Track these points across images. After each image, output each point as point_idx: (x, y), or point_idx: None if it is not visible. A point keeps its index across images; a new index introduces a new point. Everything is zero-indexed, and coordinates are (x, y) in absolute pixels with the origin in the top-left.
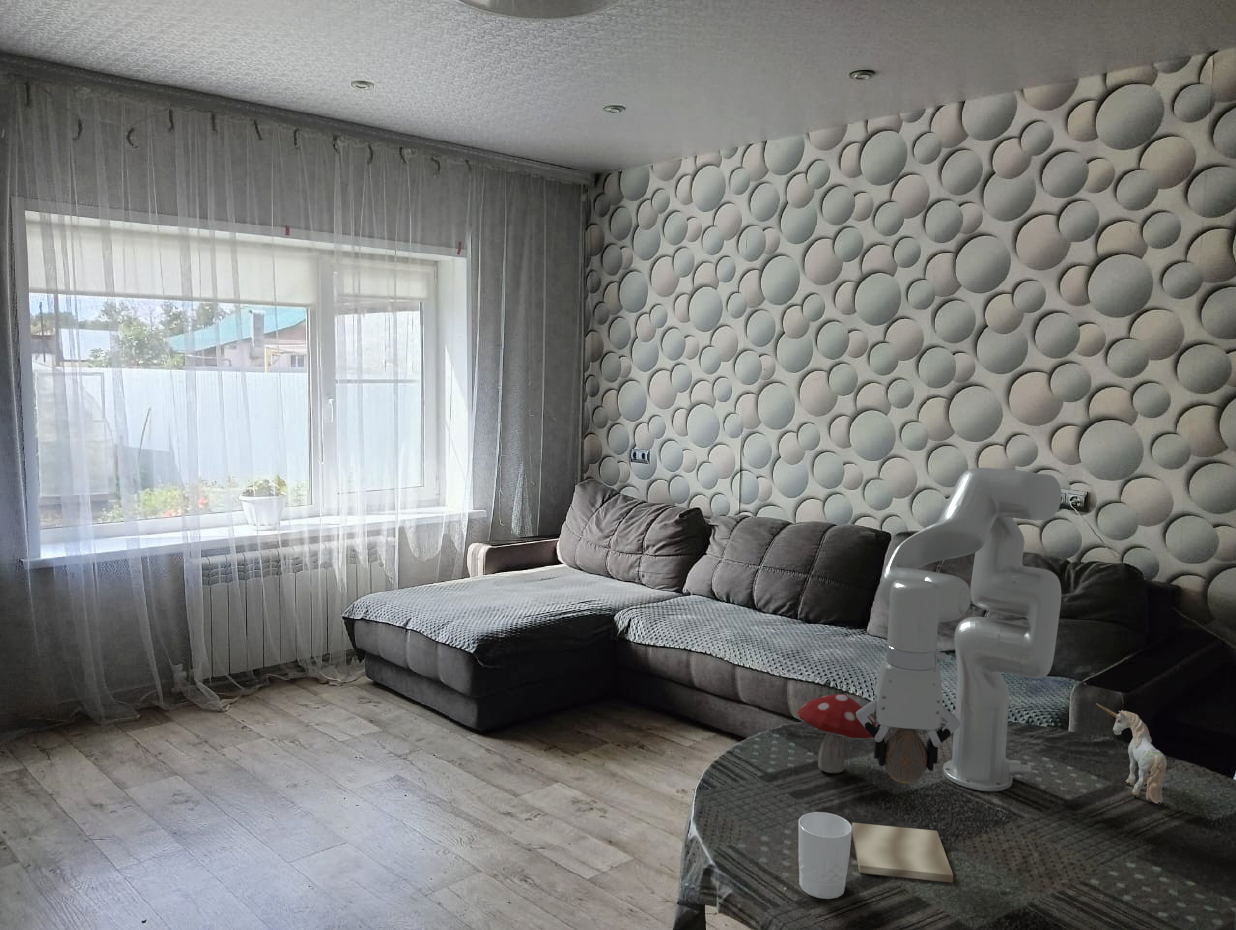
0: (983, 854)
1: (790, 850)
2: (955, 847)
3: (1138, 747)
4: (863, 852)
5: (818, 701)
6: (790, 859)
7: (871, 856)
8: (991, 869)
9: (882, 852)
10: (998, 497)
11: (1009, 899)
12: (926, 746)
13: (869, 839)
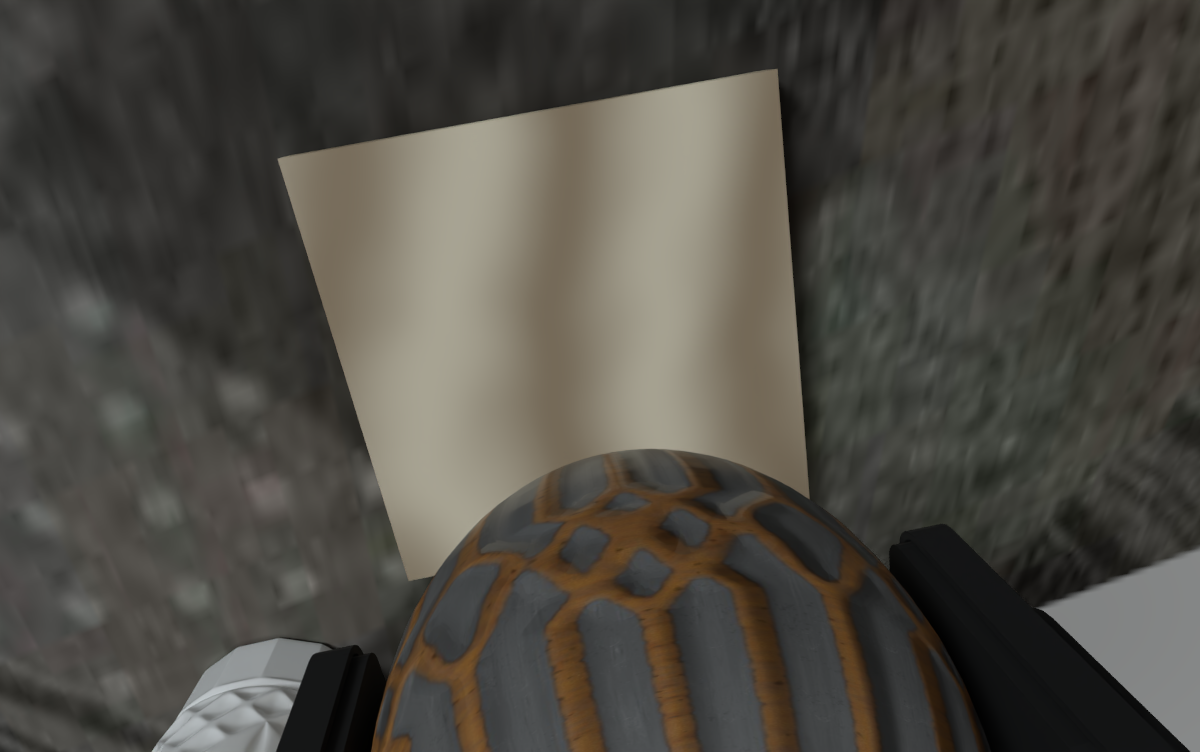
0: (979, 170)
1: (57, 502)
2: (851, 147)
3: None
4: (405, 467)
5: None
6: (90, 574)
7: (448, 488)
8: (982, 306)
9: (494, 432)
10: None
11: (996, 512)
12: (1022, 711)
13: (413, 326)
